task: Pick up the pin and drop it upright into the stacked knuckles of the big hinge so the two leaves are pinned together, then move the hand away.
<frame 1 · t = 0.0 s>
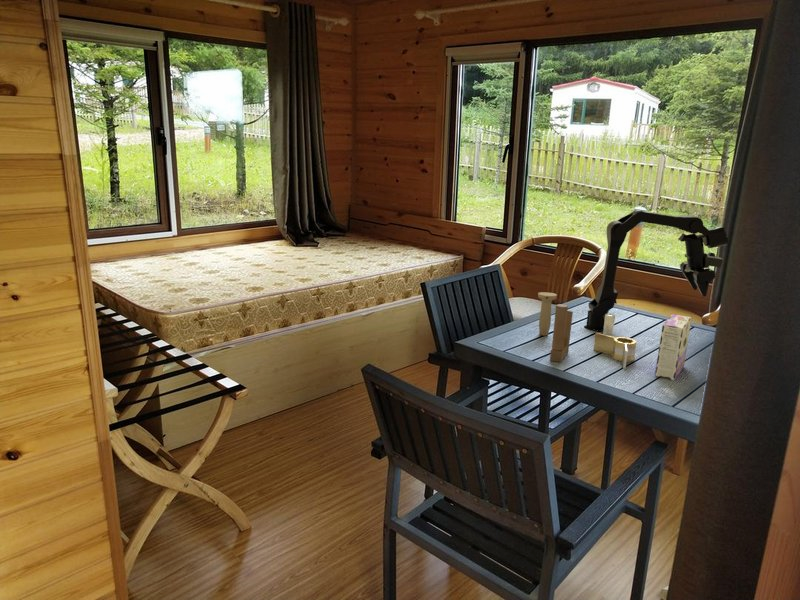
hand: (699, 293, 216), 15 cm above the table, tool pointing down, fingers open, 9 cm apart
pin: (606, 342, 208), on the table
wooden block: (559, 357, 194), on the table
hinge: (622, 358, 194), on the table
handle: (543, 335, 215), on the table
candy box: (669, 372, 184), on the table
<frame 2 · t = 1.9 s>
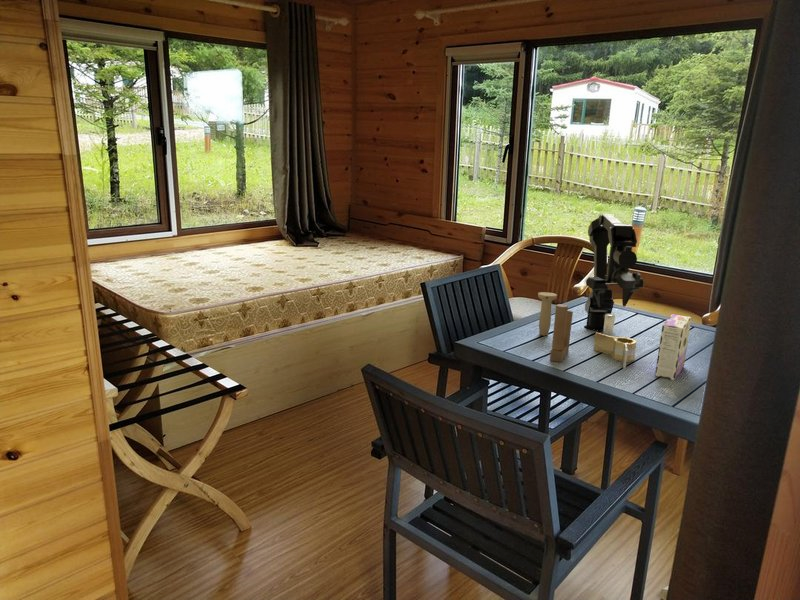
hand: (612, 306, 205), 13 cm above the table, tool pointing down, fingers open, 9 cm apart
nothing on the table moved.
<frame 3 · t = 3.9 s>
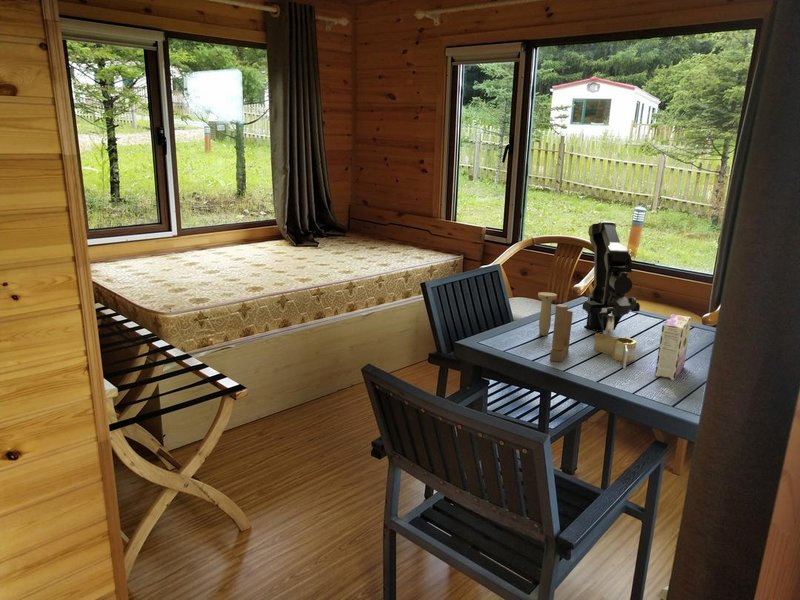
hand: (608, 330, 207), 5 cm above the table, tool pointing down, fingers closed on pin, 3 cm apart
pin: (606, 342, 208), on the table, touching gripper
everything else where it was.
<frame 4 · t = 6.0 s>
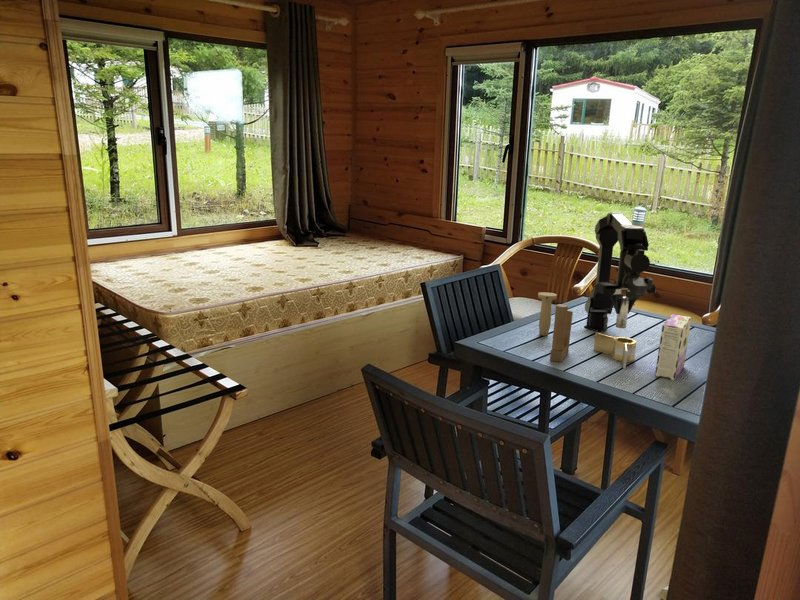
hand: (622, 313, 195), 14 cm above the table, tool pointing down, fingers closed on pin, 3 cm apart
pin: (620, 327, 196), point 9 cm above the table, touching gripper
everything else where it was.
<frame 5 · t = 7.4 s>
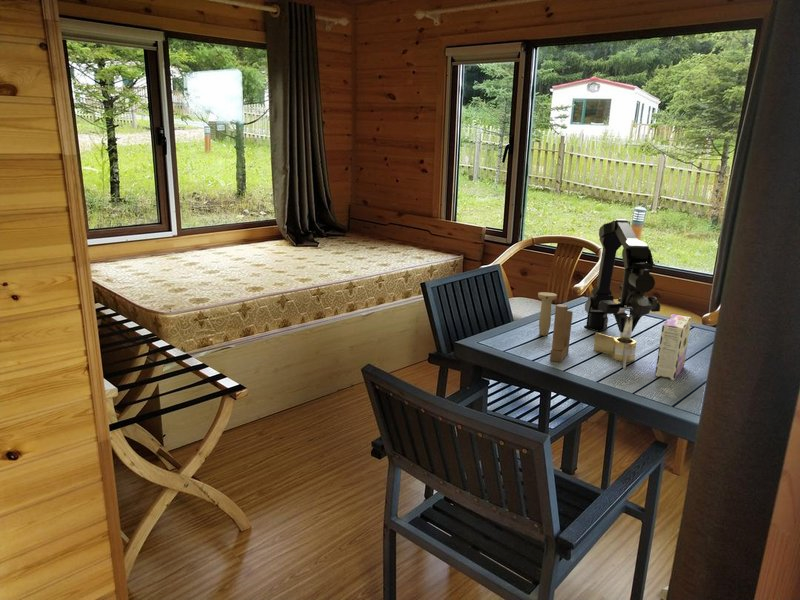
hand: (626, 331, 192), 9 cm above the table, tool pointing down, fingers closed on pin, 3 cm apart
pin: (624, 345, 193), point 4 cm above the table, touching gripper
everything else where it was.
when the fingers open (7 cm above the table, at t = 8.5 s): pin drops 2 cm, resting in hinge.
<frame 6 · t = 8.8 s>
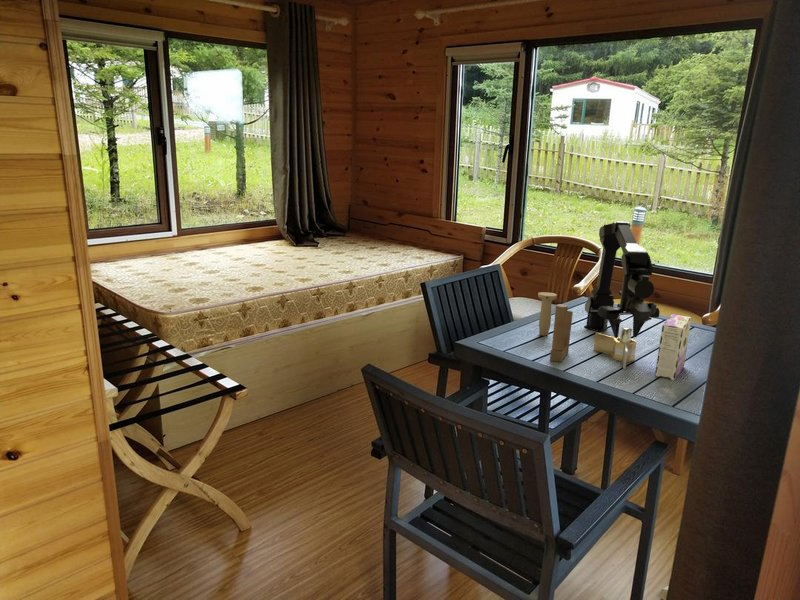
hand: (625, 337, 192), 7 cm above the table, tool pointing down, fingers open, 6 cm apart
pin: (622, 358, 194), resting in hinge
everything else where it was.
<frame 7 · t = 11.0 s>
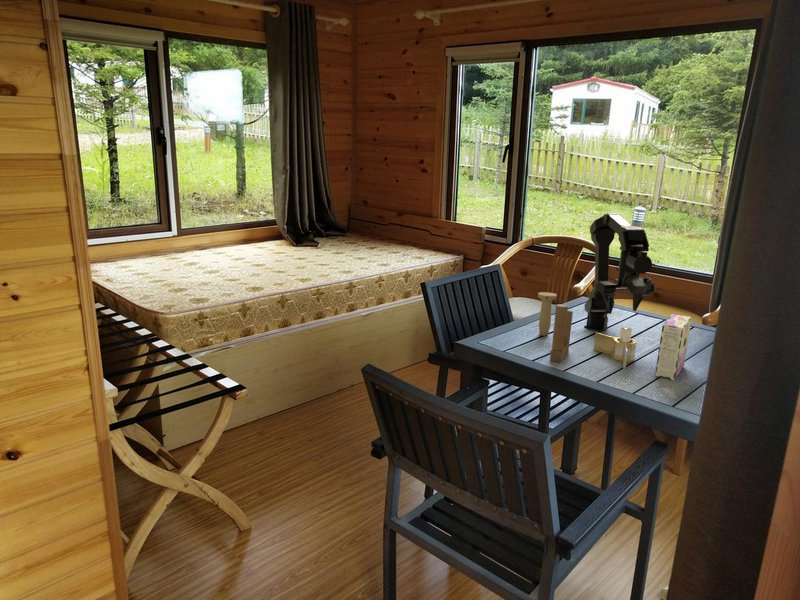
hand: (622, 311, 201), 13 cm above the table, tool pointing down, fingers open, 9 cm apart
nothing on the table moved.
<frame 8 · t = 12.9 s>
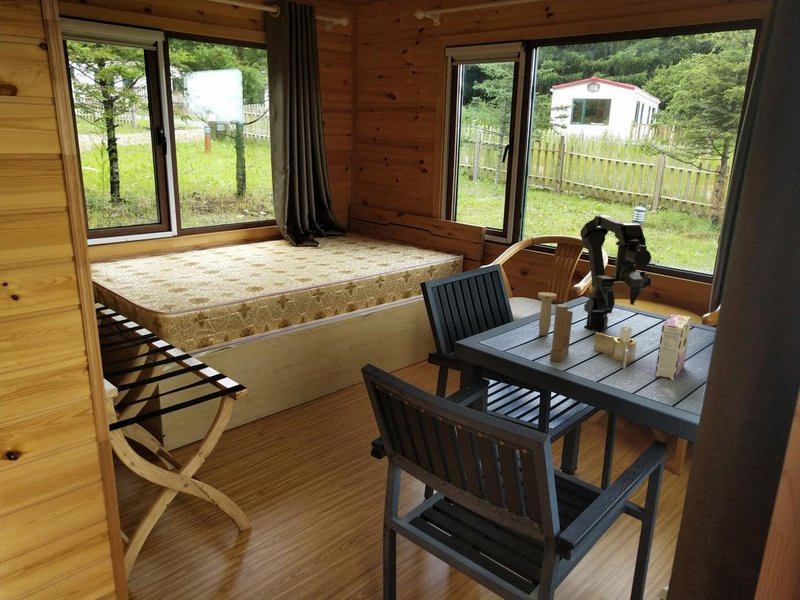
hand: (619, 305, 207), 13 cm above the table, tool pointing down, fingers open, 9 cm apart
nothing on the table moved.
at the end: pin 0.0 cm from the hinge (horizontally); pin tilted 0°; pin resting in hinge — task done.
